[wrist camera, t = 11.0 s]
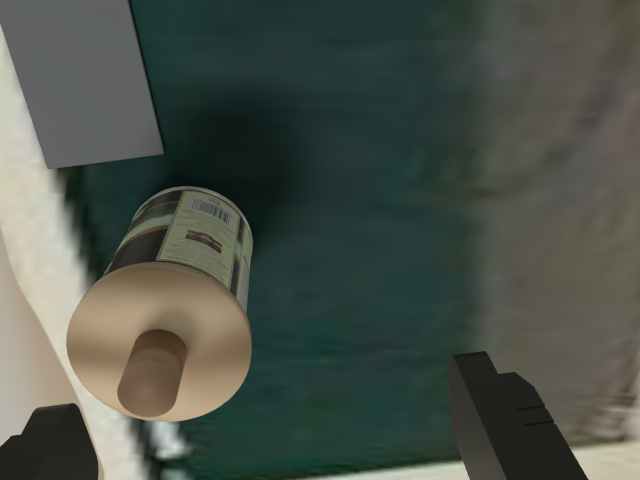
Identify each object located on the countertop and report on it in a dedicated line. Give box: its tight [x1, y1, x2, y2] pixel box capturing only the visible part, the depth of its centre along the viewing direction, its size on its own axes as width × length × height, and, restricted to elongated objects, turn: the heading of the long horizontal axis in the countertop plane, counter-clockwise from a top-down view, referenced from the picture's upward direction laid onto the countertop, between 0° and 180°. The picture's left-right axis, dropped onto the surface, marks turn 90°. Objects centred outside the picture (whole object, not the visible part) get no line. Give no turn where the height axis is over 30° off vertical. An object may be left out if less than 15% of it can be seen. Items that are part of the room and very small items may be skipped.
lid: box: [66, 262, 252, 422], centre depth 35 cm, size 11×11×5 cm
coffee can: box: [102, 186, 253, 313], centre depth 44 cm, size 10×10×14 cm
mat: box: [0, 0, 165, 169], centre depth 44 cm, size 14×9×1 cm, turn 7°
